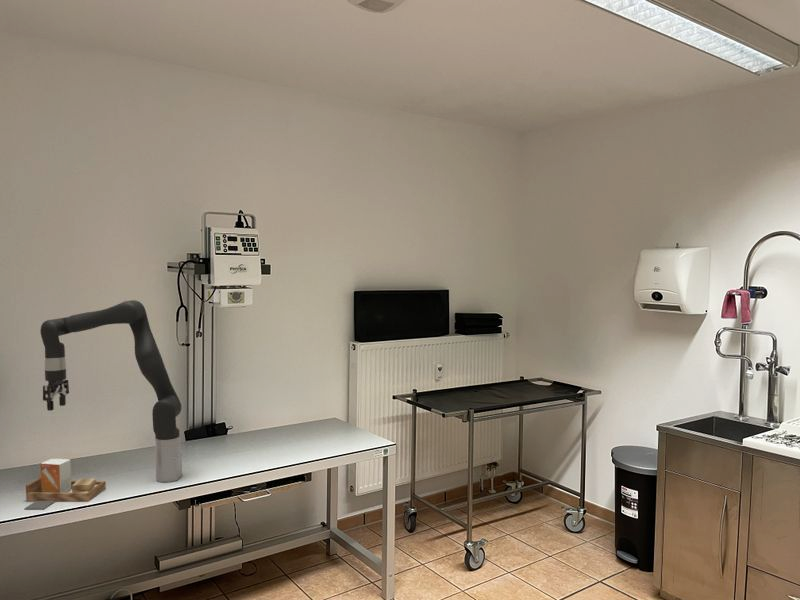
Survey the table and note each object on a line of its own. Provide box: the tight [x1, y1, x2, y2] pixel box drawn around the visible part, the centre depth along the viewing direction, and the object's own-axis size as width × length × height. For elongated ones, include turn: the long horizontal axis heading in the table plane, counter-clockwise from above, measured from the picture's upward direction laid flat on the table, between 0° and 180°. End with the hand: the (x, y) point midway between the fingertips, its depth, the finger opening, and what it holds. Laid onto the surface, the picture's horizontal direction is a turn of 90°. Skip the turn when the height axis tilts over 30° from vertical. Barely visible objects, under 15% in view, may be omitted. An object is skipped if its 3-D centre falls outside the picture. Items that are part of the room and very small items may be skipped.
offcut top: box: [71, 477, 97, 492], centre depth 229 cm, size 6×7×2 cm
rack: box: [25, 476, 107, 503], centre depth 229 cm, size 23×13×6 cm, turn 90°
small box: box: [40, 458, 72, 493], centre depth 229 cm, size 8×6×13 cm
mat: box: [24, 501, 56, 511], centre depth 218 cm, size 7×7×1 cm
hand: (56, 407), depth 245 cm, fingers open, 8 cm apart
